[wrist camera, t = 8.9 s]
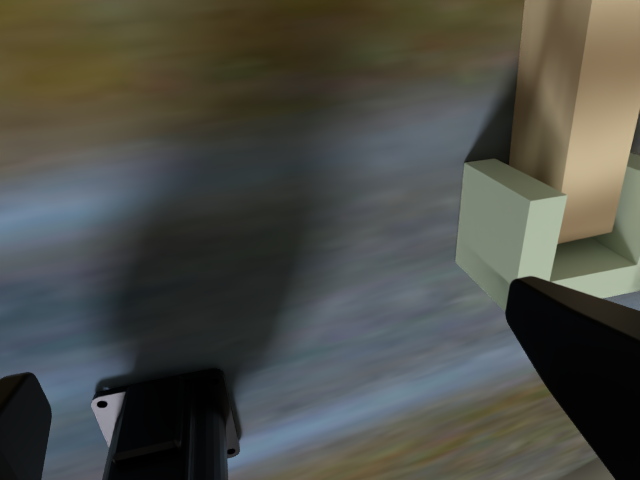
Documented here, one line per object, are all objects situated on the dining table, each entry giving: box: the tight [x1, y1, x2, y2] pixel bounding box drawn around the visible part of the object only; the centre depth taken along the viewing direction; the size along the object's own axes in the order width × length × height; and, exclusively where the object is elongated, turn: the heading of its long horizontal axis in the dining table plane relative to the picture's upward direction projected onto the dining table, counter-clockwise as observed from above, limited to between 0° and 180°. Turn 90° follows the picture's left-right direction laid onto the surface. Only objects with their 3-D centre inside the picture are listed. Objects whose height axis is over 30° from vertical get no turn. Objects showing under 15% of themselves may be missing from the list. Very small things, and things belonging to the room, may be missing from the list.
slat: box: [509, 0, 640, 244], centre depth 18 cm, size 15×3×4 cm, turn 6°
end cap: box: [455, 153, 640, 311], centre depth 21 cm, size 6×8×5 cm
